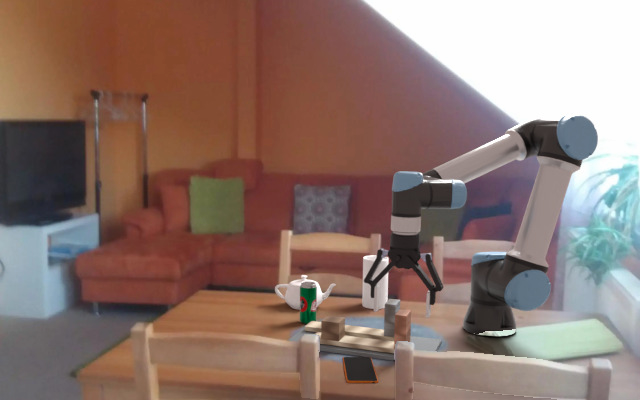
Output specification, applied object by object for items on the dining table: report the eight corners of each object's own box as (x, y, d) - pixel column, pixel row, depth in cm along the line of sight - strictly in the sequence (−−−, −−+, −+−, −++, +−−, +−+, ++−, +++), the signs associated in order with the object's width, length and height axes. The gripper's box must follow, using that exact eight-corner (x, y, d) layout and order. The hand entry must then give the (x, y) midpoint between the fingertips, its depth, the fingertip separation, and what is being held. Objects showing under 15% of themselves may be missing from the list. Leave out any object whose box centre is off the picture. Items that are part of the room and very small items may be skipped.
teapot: (337, 302, 228) (337, 272, 227) (334, 312, 216) (334, 281, 215) (278, 299, 230) (278, 270, 229) (271, 310, 218) (271, 279, 217)
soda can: (314, 325, 203) (314, 285, 201) (297, 323, 204) (298, 284, 202) (317, 320, 208) (318, 281, 206) (301, 319, 209) (302, 280, 207)
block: (344, 335, 185) (345, 317, 185) (338, 341, 181) (339, 323, 180) (327, 333, 187) (327, 315, 186) (321, 339, 182) (321, 320, 182)
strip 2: (410, 347, 180) (411, 310, 179) (405, 354, 175) (406, 316, 173) (317, 336, 189) (317, 300, 187) (310, 342, 183) (310, 305, 182)
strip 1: (399, 335, 190) (400, 299, 189) (394, 341, 185) (395, 304, 183) (311, 324, 199) (312, 290, 197) (304, 330, 193) (305, 295, 192)
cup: (367, 309, 219) (368, 261, 217) (358, 303, 227) (359, 255, 225) (391, 308, 222) (392, 259, 220) (382, 301, 229) (383, 254, 227)
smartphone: (371, 359, 176) (371, 356, 176) (378, 384, 159) (378, 381, 159) (341, 359, 176) (342, 356, 176) (346, 384, 159) (346, 381, 159)
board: (441, 343, 188) (441, 339, 188) (429, 365, 171) (429, 361, 171) (308, 326, 201) (308, 323, 201) (285, 346, 184) (285, 342, 184)
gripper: (457, 234, 173) (452, 315, 176) (362, 226, 182) (359, 304, 184) (452, 238, 166) (448, 323, 169) (354, 230, 175) (351, 311, 177)
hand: (401, 313), depth 176 cm, fingers open, 13 cm apart
